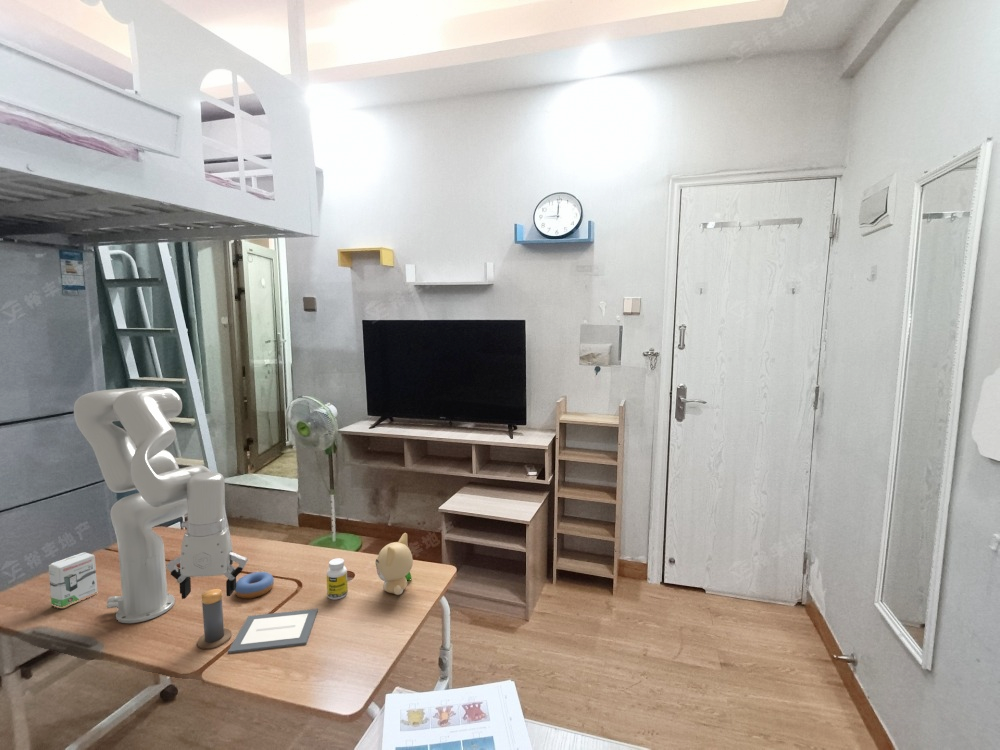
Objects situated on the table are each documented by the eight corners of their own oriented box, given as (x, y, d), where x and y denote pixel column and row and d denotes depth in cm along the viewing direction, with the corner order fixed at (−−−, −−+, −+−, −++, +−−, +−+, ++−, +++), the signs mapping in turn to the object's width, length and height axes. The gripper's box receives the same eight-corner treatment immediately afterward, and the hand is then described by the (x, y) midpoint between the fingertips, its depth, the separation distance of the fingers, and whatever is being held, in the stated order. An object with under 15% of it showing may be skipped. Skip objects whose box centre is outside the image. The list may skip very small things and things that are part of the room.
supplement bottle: (326, 601, 131) (325, 567, 130) (328, 591, 136) (326, 558, 135) (347, 598, 132) (346, 564, 131) (348, 588, 138) (346, 555, 137)
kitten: (393, 574, 146) (391, 526, 144) (423, 578, 143) (422, 529, 142) (366, 600, 131) (364, 547, 130) (399, 606, 129) (398, 552, 127)
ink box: (61, 610, 127) (57, 568, 126) (50, 607, 129) (46, 564, 128) (98, 594, 136) (95, 553, 134) (87, 590, 137) (84, 551, 136)
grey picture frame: (228, 653, 110) (227, 650, 110) (248, 617, 124) (248, 615, 124) (306, 644, 113) (306, 641, 113) (317, 610, 127) (317, 608, 127)
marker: (201, 643, 112) (198, 599, 111) (208, 633, 116) (205, 589, 115) (220, 641, 113) (217, 597, 112) (227, 631, 117) (224, 588, 116)
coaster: (192, 650, 111) (192, 648, 111) (205, 632, 118) (204, 630, 118) (225, 647, 112) (224, 644, 112) (235, 629, 119) (235, 626, 119)
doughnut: (262, 577, 144) (260, 563, 143) (281, 588, 138) (279, 574, 137) (228, 595, 136) (226, 580, 135) (247, 608, 130) (245, 593, 129)
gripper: (157, 534, 107) (160, 606, 109) (241, 531, 110) (242, 601, 112) (173, 520, 115) (176, 587, 117) (251, 518, 118) (252, 583, 120)
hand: (208, 594), depth 114 cm, fingers open, 9 cm apart
